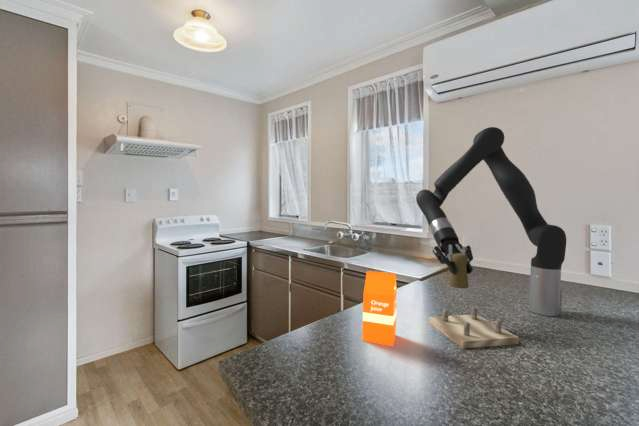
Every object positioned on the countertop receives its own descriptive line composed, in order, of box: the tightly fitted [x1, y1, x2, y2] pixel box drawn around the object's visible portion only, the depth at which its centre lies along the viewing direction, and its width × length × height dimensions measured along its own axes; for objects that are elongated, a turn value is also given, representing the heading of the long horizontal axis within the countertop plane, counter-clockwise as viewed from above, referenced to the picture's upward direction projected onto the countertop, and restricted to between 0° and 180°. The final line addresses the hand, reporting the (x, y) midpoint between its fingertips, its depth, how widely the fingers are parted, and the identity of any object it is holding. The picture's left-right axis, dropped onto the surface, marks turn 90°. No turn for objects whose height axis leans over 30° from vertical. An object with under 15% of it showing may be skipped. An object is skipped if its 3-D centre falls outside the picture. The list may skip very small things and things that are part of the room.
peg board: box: [428, 307, 520, 350], centre depth 96 cm, size 18×18×6 cm
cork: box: [449, 253, 470, 289], centre depth 103 cm, size 6×6×11 cm
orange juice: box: [362, 270, 398, 347], centre depth 91 cm, size 8×9×20 cm
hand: (462, 272), depth 101 cm, fingers closed on cork, 5 cm apart
